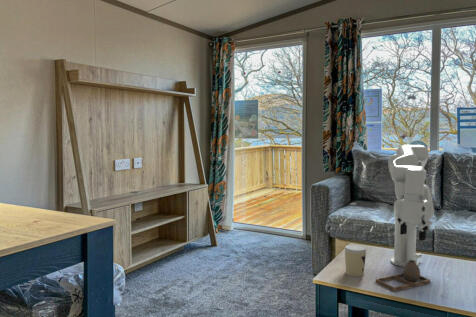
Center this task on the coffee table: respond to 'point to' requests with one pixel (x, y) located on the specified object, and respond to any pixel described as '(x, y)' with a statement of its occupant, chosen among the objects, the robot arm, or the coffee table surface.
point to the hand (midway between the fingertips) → (412, 237)
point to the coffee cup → (355, 260)
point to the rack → (398, 278)
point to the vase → (411, 271)
